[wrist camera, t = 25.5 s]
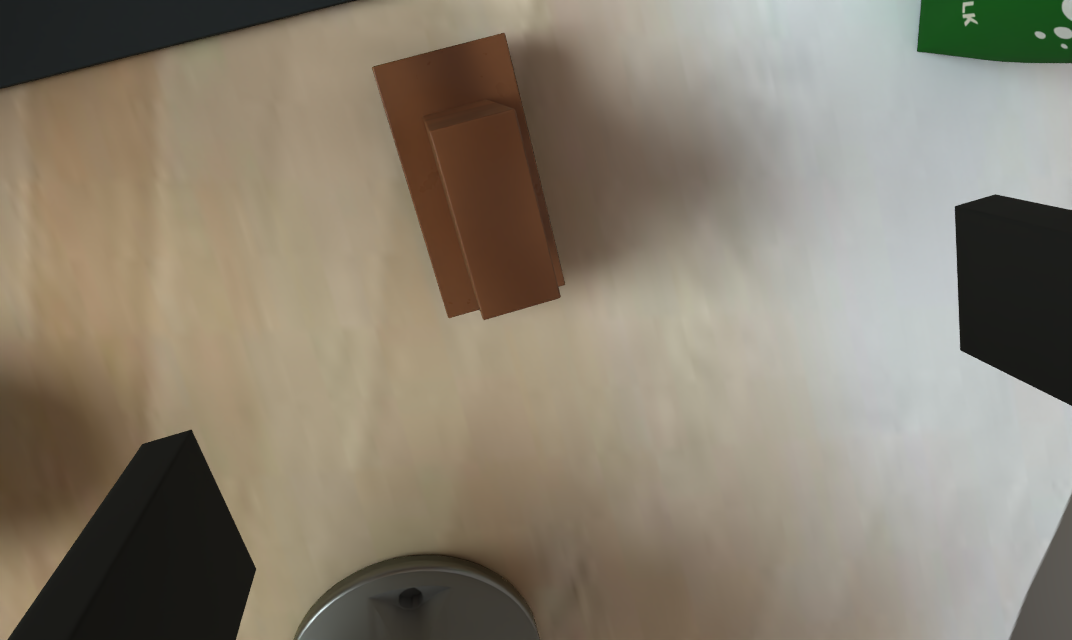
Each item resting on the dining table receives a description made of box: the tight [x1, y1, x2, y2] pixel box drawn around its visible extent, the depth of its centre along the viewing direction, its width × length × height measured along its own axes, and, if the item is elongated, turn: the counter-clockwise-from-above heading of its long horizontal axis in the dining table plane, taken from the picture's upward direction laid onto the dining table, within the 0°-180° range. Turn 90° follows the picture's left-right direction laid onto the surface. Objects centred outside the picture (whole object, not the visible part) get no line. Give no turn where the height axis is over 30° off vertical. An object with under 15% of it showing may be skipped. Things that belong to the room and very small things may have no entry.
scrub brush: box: [372, 33, 565, 320], centre depth 32 cm, size 6×12×12 cm, turn 14°
